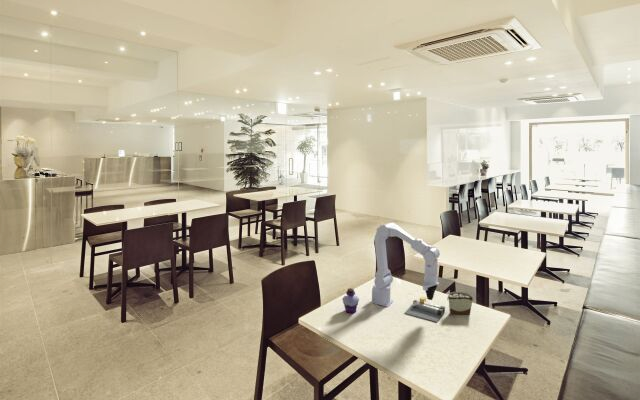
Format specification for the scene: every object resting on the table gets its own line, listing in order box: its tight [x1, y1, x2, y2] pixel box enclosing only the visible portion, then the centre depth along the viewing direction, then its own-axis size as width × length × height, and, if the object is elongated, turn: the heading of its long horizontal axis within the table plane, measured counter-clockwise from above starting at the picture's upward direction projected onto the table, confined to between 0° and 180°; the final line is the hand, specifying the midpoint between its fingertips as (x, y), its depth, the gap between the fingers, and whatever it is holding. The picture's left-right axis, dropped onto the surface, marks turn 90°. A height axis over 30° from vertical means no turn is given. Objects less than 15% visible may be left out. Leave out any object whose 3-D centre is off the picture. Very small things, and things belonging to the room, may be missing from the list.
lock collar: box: [419, 296, 427, 304], centre depth 172 cm, size 2×3×2 cm
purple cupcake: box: [341, 287, 360, 315], centre depth 170 cm, size 9×9×12 cm
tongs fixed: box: [415, 299, 446, 314], centre depth 170 cm, size 16×2×3 cm, turn 55°
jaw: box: [412, 299, 444, 317], centre depth 168 cm, size 15×3×4 cm, turn 50°
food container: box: [447, 291, 474, 317], centre depth 166 cm, size 12×6×10 cm, turn 84°
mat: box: [404, 303, 442, 323], centre depth 167 cm, size 16×12×1 cm
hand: (429, 299), depth 162 cm, fingers closed
